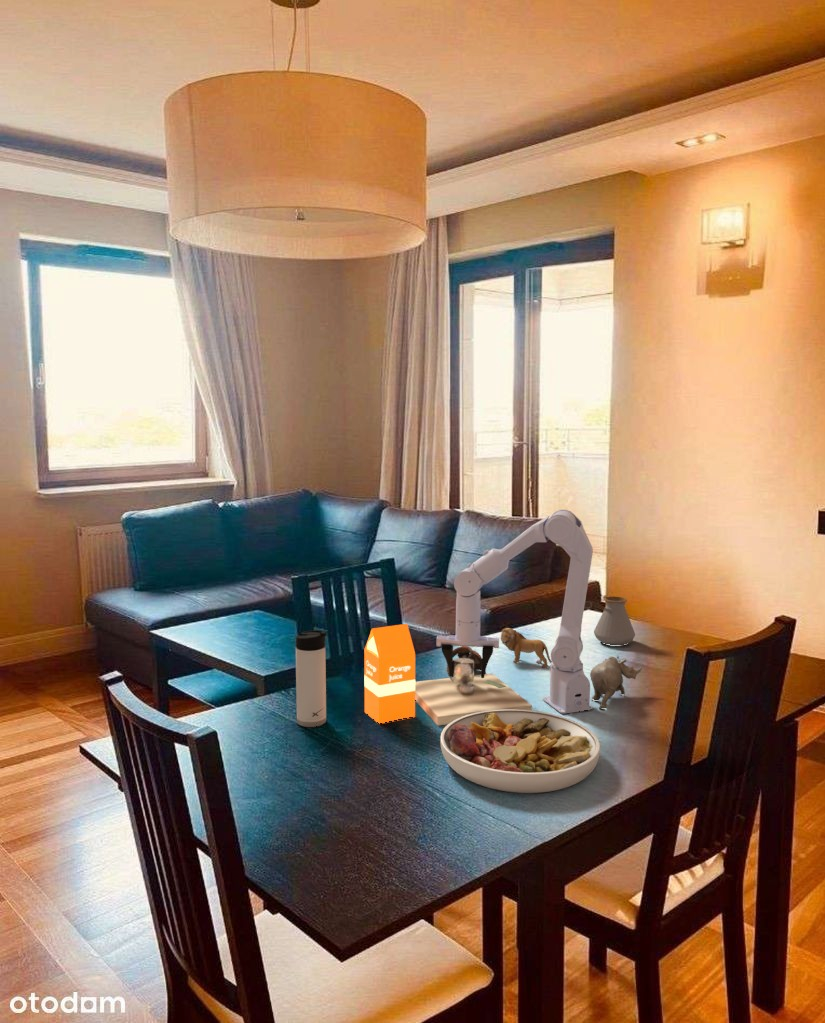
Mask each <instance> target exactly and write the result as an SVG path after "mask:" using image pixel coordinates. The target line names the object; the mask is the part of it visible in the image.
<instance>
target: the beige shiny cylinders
mask: <svg viewBox="0 0 825 1023" xmlns="http://www.w3.org/2000/svg"><path fill="white" fill-rule="evenodd" d="M474 675H475V670H474V661H473V660H472V659H468V658H459V657H458V658H455V659H453V677H452V678H453V681H455V682H458V683H461V684H460V692H461V693H464V694H471V693H473V692H474V685H473V684H471V683H469V682H472V681H474Z"/></svg>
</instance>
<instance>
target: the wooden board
mask: <svg viewBox="0 0 825 1023" xmlns="http://www.w3.org/2000/svg"><path fill="white" fill-rule="evenodd" d="M469 683H471V684H473V685H474V692H473V693H471V694H464V693H461V692H460V684H461V683H458V682H455V681H453V677H446V678H437V679H430V680H429V679H427V680H419V681H415V700H416V701H415V703H417V704H418V706H420V708H421V709H422V710H423V711H424V712H425V713H426V714H427V715H428V716H429V718H430V719H431V720H432V721H433V722H434V723H435V724H436V726H447V725H448V724H449V723H451V722H452V721H454V720H456V719H458V718H460V717H463V716H466V715H469V714H472V713H477V712H482V711H489V710H502V709H517V710H531V711H533V705H532V703H530V702H528V701H527V700H526V699H525V698H523V696H521V695H520V694H518V692H516V691H515V690H514V689H513V688H511V687H510V686H509V685H507V684H506V683H505V681H503V680H501V679H500V678H499V677H497V676H496V675H495V674H494V673H486V674H484V678H481V674H474V681H472V682H469Z"/></svg>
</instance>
